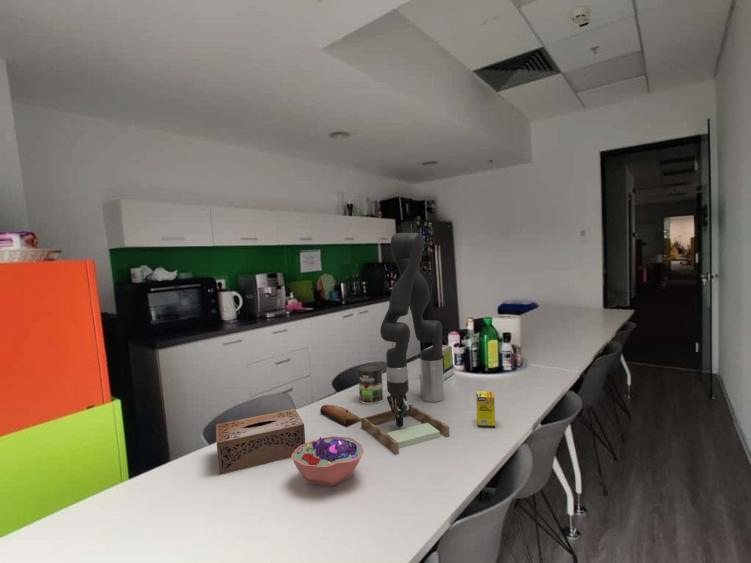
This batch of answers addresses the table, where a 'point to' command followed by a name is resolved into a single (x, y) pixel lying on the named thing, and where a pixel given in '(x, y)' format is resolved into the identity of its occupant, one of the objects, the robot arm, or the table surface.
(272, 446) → the tissue box cover
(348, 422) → the sunglasses case
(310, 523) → the table surface
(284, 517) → the table surface
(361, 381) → the coffee can
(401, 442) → the cover plate
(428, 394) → the robot arm
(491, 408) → the supplement box
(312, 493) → the table surface
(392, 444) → the open wooden frame
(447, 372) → the tea box
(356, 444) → the cell model
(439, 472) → the table surface
